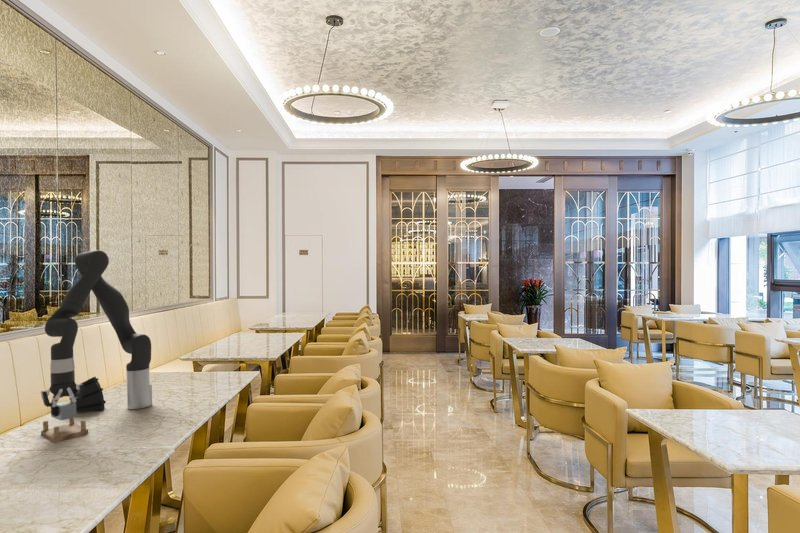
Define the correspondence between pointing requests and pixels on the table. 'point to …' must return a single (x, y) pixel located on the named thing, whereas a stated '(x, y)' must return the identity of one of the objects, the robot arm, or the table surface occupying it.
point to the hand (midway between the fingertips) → (63, 414)
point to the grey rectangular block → (65, 410)
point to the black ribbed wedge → (90, 397)
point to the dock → (64, 431)
